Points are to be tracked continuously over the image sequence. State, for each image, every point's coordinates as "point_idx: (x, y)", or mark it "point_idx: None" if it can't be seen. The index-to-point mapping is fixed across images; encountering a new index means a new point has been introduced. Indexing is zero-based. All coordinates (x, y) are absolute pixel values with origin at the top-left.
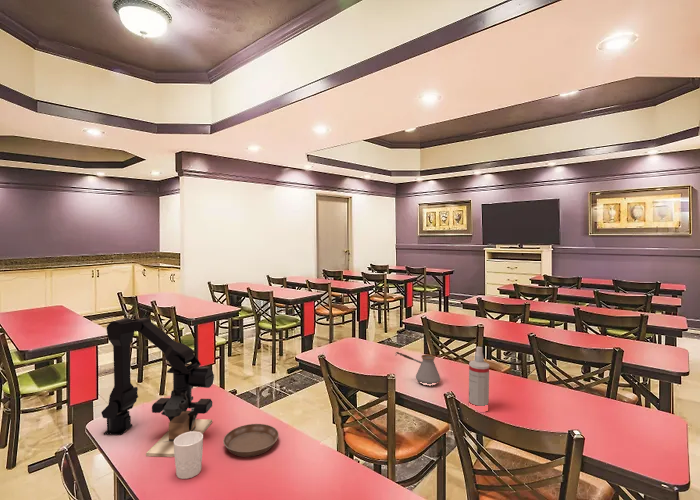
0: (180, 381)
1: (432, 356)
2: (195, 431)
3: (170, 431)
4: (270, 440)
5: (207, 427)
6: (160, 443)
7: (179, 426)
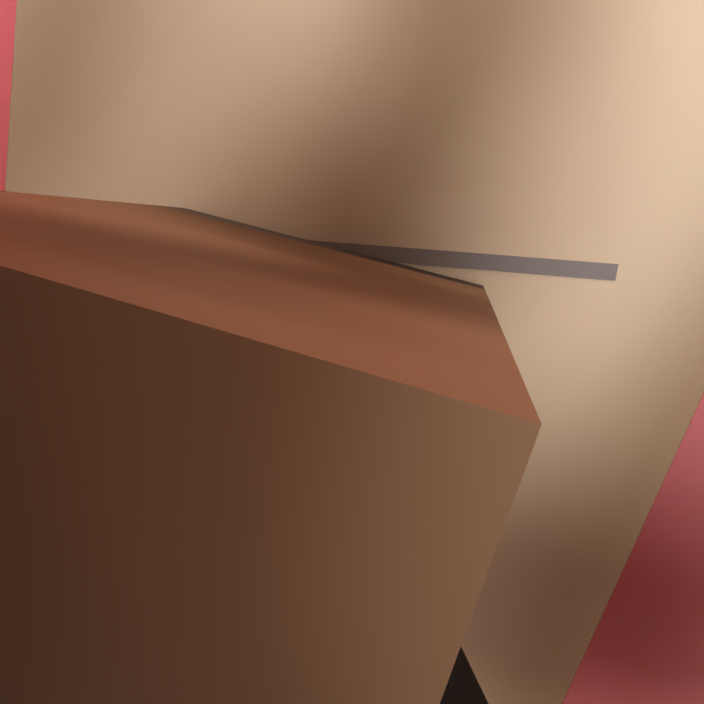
0: None
1: None
2: None
3: (435, 302)
4: None
5: None
6: (655, 212)
7: (8, 226)
